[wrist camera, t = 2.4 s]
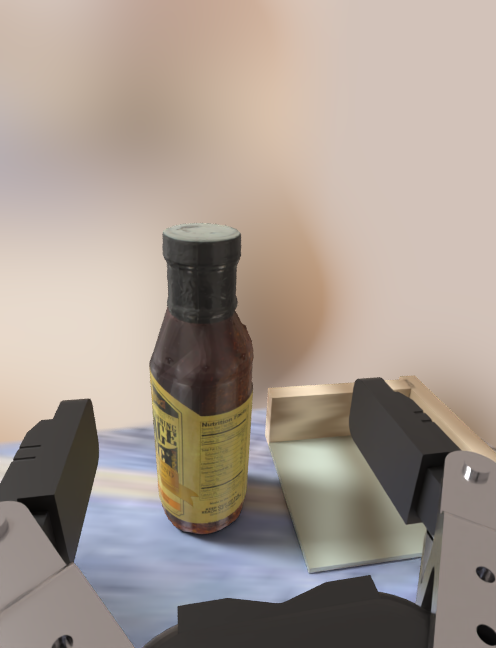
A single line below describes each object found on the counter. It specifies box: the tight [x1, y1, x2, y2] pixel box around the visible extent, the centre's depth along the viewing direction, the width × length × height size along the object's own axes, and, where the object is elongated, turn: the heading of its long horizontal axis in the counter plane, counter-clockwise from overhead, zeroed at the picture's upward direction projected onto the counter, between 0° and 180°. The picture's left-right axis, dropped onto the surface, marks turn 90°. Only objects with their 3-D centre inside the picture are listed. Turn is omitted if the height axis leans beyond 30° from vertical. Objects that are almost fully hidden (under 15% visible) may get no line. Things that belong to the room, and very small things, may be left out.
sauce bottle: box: [149, 223, 253, 534], centre depth 25 cm, size 7×6×20 cm
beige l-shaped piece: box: [265, 376, 496, 573], centre depth 31 cm, size 14×14×5 cm
